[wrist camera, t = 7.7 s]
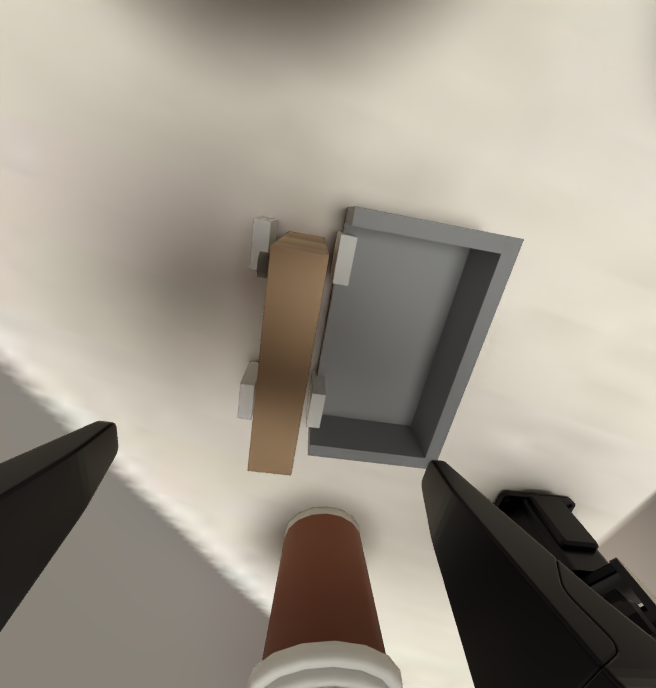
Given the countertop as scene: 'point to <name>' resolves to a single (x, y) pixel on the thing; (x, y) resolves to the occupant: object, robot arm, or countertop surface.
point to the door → (285, 347)
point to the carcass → (396, 334)
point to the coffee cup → (324, 611)
